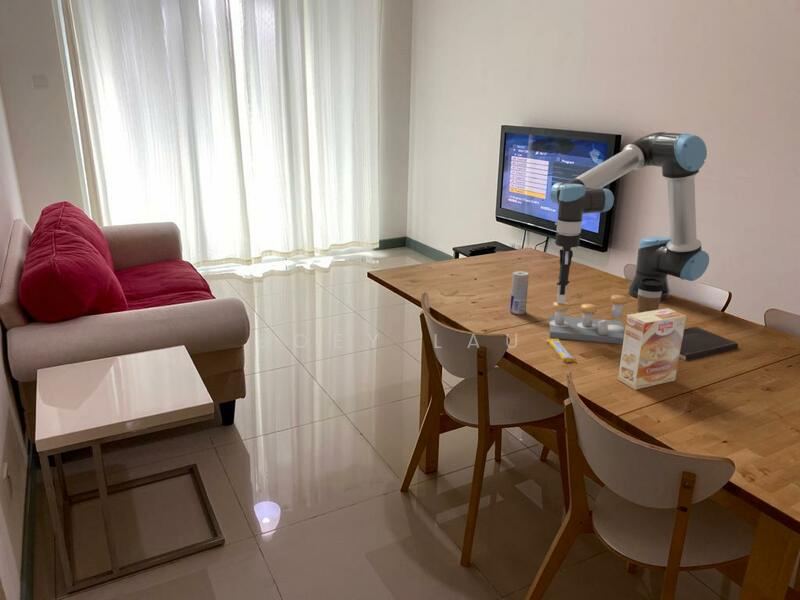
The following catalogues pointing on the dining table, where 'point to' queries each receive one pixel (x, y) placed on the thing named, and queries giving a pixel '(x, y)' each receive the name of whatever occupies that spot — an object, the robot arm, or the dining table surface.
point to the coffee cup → (649, 294)
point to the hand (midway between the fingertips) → (560, 302)
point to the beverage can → (519, 292)
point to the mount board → (586, 330)
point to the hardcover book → (703, 344)
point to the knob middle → (588, 314)
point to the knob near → (618, 305)
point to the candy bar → (560, 350)
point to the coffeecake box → (651, 348)
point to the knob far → (560, 312)
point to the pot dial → (602, 327)
